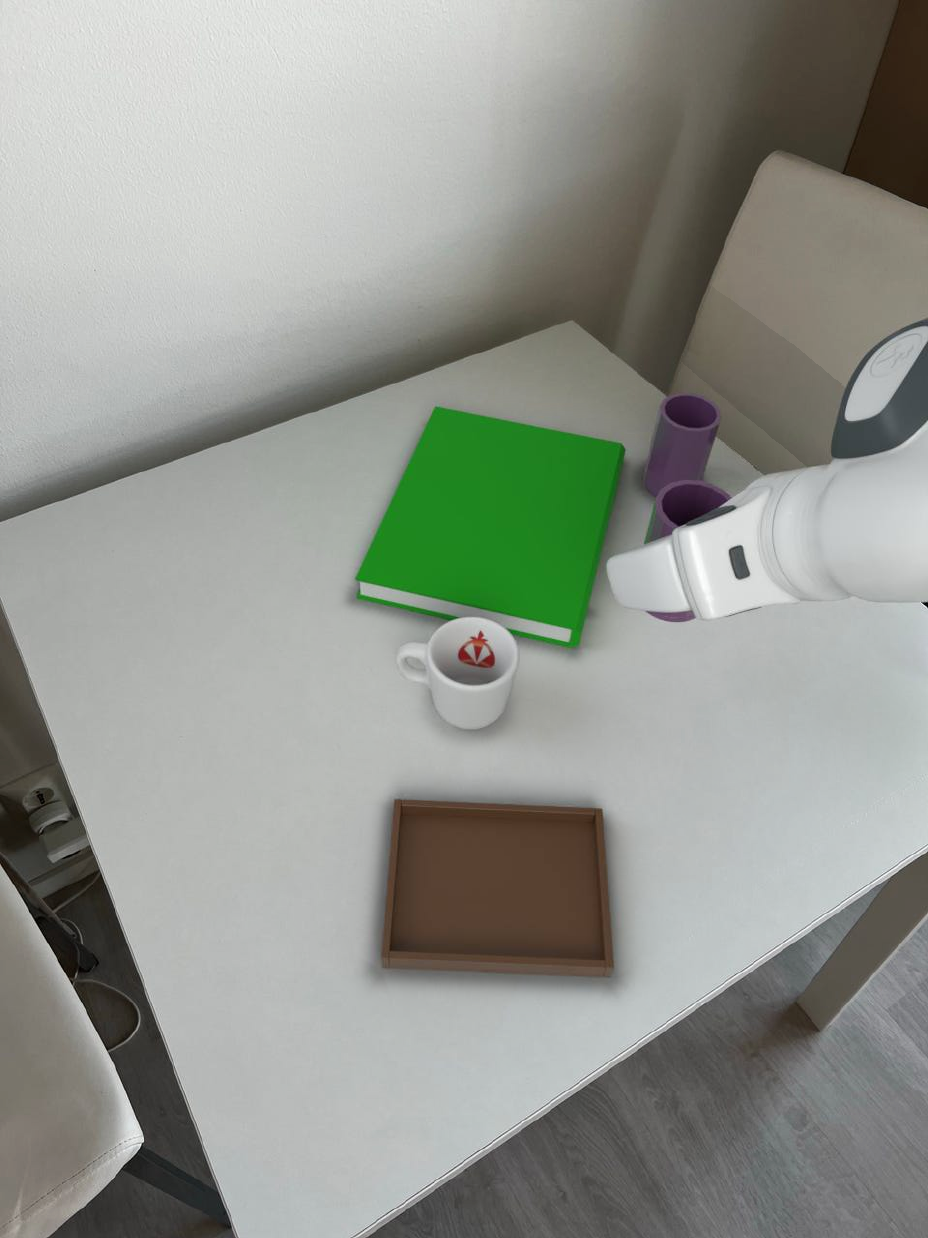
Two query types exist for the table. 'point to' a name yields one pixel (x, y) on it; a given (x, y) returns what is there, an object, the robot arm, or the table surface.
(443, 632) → the cup
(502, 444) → the book
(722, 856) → the table surface
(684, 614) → the plum tumbler
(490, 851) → the walnut tray
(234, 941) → the table surface
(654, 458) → the tumbler
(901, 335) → the robot arm
